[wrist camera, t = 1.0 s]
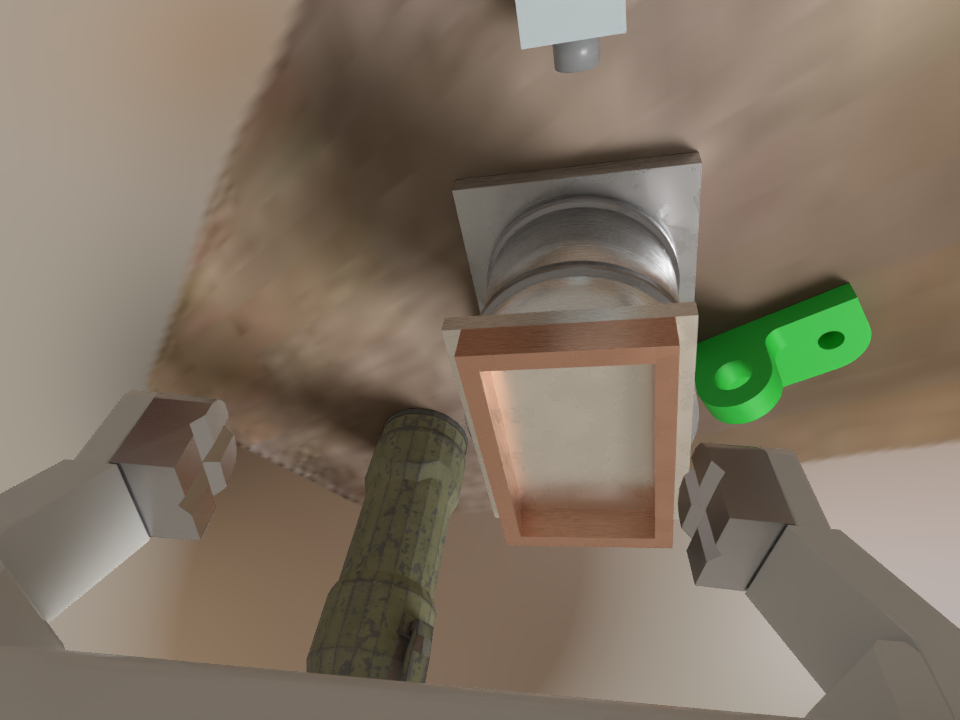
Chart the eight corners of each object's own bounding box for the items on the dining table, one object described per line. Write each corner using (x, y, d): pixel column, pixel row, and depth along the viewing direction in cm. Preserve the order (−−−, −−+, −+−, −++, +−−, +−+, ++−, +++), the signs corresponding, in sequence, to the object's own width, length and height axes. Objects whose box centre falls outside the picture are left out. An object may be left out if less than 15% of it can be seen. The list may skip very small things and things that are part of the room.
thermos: (356, 439, 64) (201, 870, 38) (428, 387, 57) (297, 866, 32) (422, 481, 67) (319, 902, 42) (496, 436, 61) (428, 905, 35)
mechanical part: (719, 390, 53) (734, 464, 47) (688, 344, 50) (701, 417, 44) (872, 336, 47) (912, 412, 41) (848, 280, 44) (887, 354, 39)
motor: (698, 151, 39) (755, 341, 26) (689, 342, 50) (725, 549, 36) (455, 179, 43) (393, 360, 29) (494, 352, 53) (461, 544, 40)
